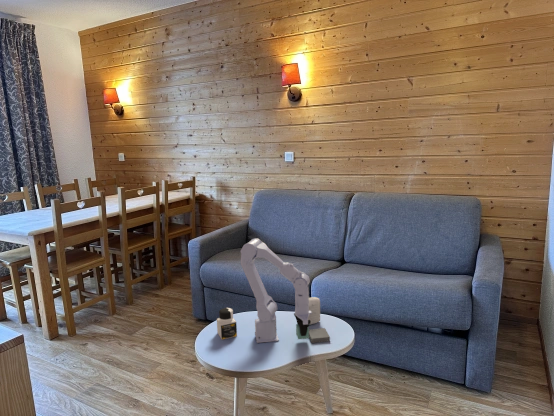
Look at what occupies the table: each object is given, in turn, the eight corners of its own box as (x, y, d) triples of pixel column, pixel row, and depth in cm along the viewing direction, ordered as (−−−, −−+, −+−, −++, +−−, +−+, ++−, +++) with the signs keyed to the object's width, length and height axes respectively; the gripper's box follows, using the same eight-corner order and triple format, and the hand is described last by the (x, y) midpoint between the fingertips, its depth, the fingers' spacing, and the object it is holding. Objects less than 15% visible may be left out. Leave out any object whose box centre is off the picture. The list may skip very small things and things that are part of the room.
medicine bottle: (221, 340, 166) (220, 314, 164) (217, 333, 172) (215, 308, 170) (237, 336, 168) (236, 311, 166) (232, 329, 175) (231, 305, 173)
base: (311, 343, 161) (311, 338, 161) (307, 333, 169) (307, 329, 169) (329, 341, 162) (329, 336, 162) (324, 332, 170) (324, 328, 170)
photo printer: (316, 318, 183) (316, 294, 181) (321, 322, 180) (321, 297, 178) (298, 323, 179) (298, 299, 176) (303, 327, 175) (303, 302, 173)
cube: (298, 339, 159) (298, 329, 158) (296, 334, 164) (296, 324, 163) (308, 338, 160) (308, 328, 159) (306, 333, 164) (306, 323, 163)
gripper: (315, 309, 152) (315, 340, 155) (307, 295, 167) (307, 323, 169) (298, 310, 152) (298, 341, 154) (291, 296, 166) (292, 325, 168)
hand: (302, 332), depth 161 cm, fingers closed on cube, 4 cm apart
